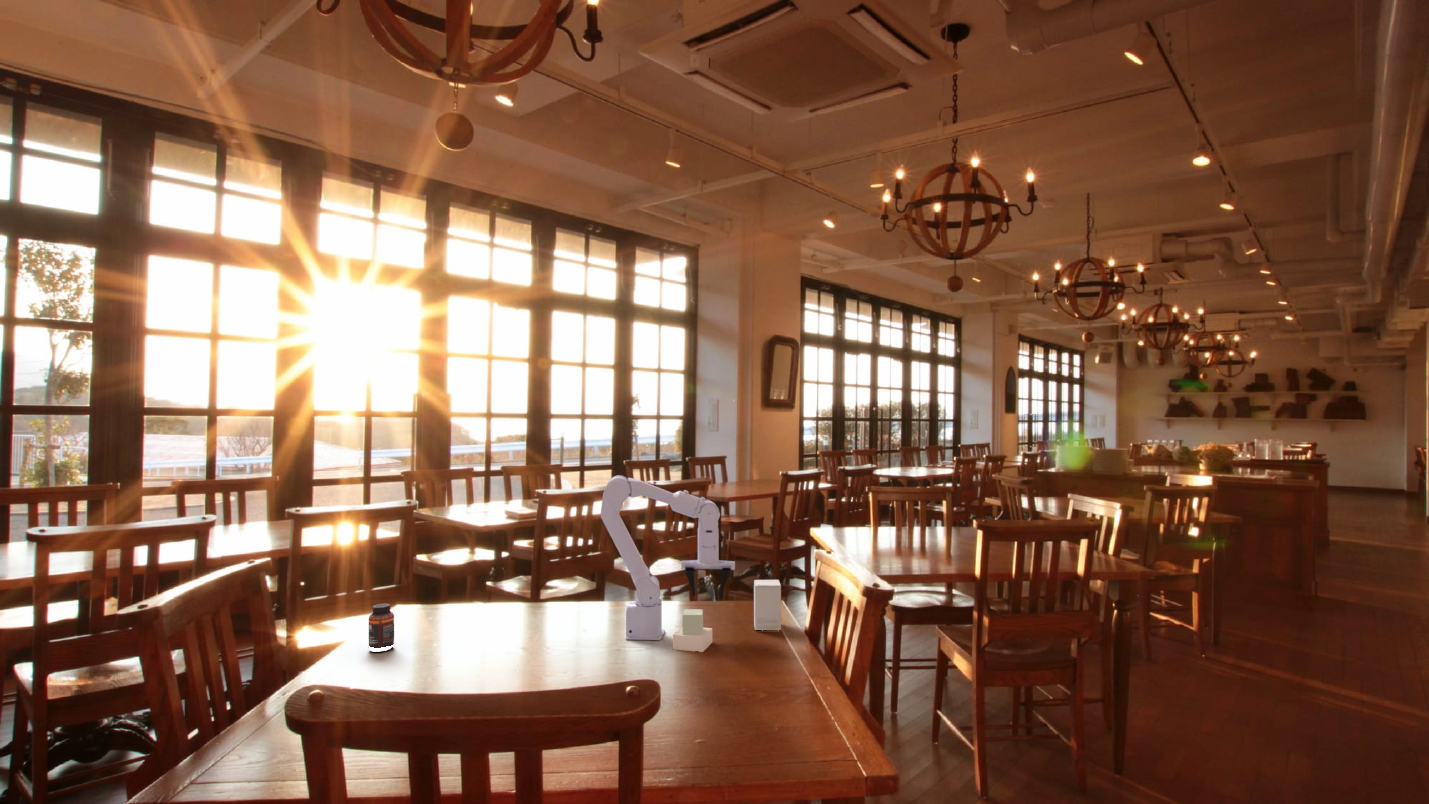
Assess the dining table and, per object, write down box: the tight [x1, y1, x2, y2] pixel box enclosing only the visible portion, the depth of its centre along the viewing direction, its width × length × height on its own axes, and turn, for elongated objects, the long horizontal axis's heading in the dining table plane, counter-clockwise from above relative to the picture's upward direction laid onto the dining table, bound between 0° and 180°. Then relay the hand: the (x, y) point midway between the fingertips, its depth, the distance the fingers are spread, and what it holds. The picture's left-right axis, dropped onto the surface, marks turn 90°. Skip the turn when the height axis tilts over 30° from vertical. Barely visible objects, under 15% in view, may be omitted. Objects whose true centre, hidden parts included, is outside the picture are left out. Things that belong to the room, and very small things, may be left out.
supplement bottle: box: [368, 603, 395, 648], centre depth 182 cm, size 6×6×11 cm
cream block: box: [672, 626, 713, 653], centre depth 185 cm, size 8×8×4 cm
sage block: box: [682, 608, 704, 635], centre depth 185 cm, size 5×5×5 cm
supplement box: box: [753, 579, 782, 632], centre depth 200 cm, size 7×7×13 cm
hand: (708, 595), depth 195 cm, fingers open, 7 cm apart
